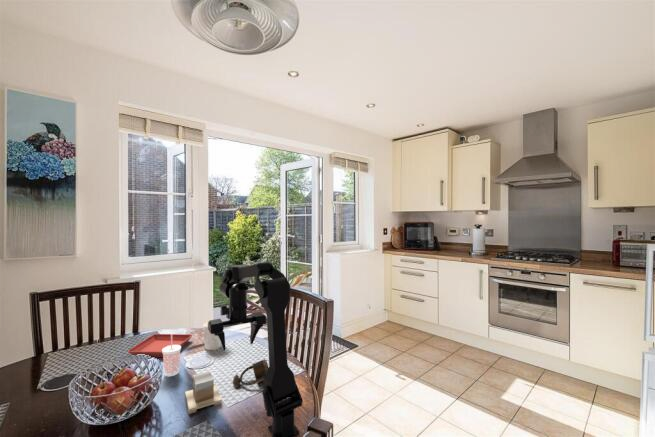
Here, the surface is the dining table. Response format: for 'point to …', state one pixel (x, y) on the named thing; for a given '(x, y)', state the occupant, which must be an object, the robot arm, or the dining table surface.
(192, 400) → the cream slab
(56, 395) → the dining table surface
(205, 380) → the housing
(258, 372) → the brown looped cylinder
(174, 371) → the beverage cup
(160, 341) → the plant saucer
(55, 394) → the dining table surface
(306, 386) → the dining table surface
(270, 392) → the robot arm
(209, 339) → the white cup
